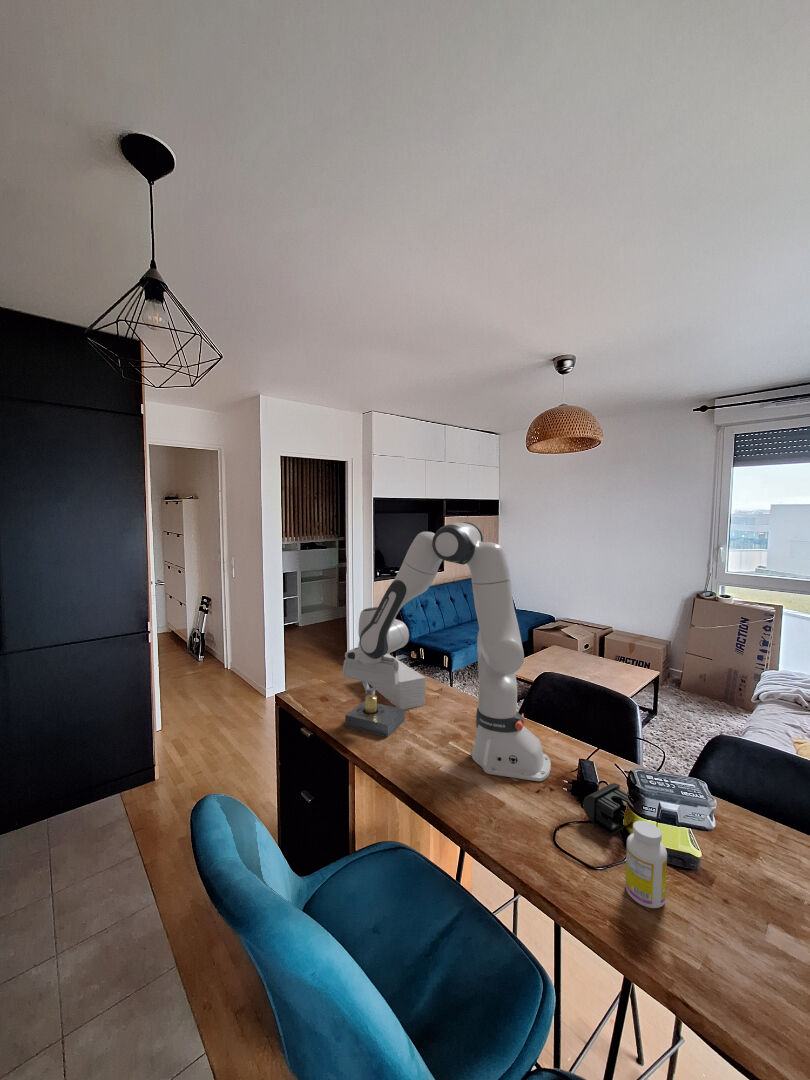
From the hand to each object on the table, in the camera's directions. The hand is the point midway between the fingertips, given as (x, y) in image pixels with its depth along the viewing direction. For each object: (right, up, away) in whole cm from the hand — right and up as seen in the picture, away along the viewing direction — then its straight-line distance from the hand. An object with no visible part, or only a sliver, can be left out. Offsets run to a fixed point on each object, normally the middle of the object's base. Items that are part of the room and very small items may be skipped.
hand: (370, 694), depth 149 cm
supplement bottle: (+57, -14, -67) cm, 89 cm away
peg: (0, -9, 0) cm, 9 cm away
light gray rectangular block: (+7, -9, +27) cm, 30 cm away
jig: (+2, -10, 0) cm, 10 cm away
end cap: (+60, -14, -46) cm, 77 cm away
